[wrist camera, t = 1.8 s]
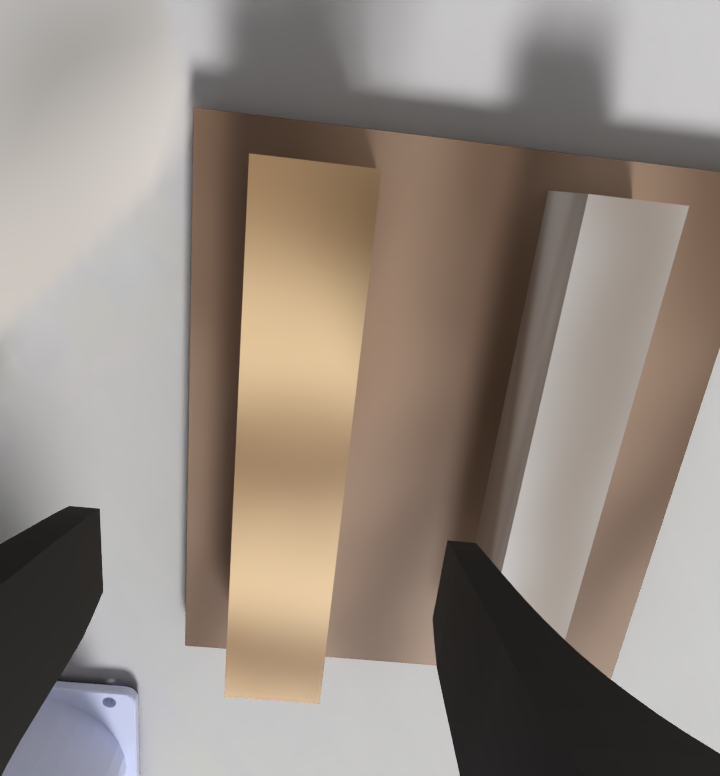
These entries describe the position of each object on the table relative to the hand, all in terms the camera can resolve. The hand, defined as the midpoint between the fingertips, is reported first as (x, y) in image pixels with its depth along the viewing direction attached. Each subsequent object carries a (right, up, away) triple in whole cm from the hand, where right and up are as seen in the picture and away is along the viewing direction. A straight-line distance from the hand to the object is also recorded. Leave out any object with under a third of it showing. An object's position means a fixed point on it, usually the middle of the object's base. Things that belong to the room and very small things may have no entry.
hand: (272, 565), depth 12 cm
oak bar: (0, +2, +7) cm, 7 cm away
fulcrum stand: (+4, +2, +8) cm, 9 cm away
